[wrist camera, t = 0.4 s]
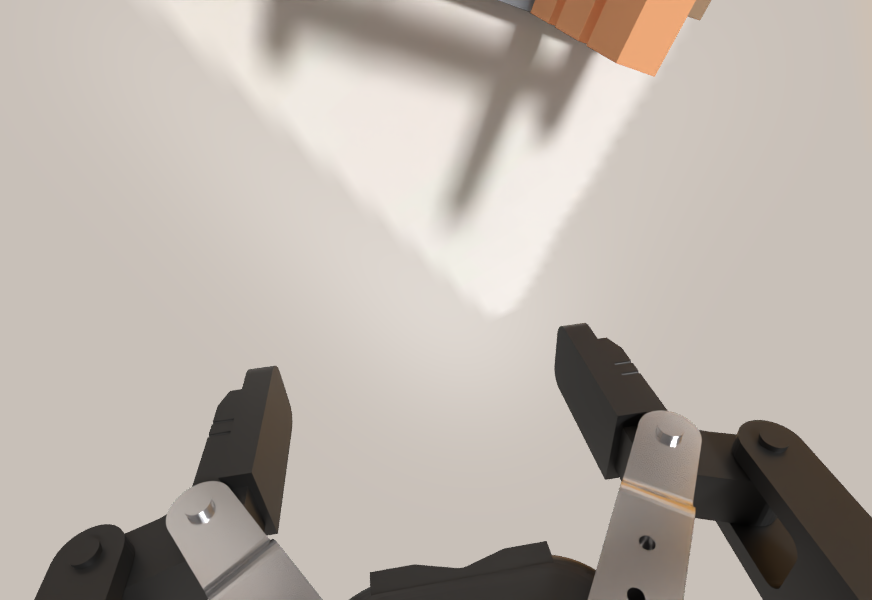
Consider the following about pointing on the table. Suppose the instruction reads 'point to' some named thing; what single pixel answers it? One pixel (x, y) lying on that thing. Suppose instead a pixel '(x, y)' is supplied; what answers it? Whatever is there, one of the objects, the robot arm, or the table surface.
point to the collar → (620, 27)
